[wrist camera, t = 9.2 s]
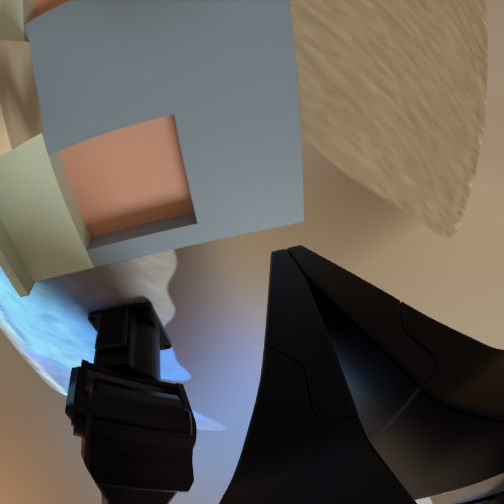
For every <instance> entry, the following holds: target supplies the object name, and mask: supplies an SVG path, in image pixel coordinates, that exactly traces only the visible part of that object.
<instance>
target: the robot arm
mask: <svg viewBox="0 0 504 504" xmlns="http://www.w3.org/2000/svg"><path fill="white" fill-rule="evenodd" d="M145 307H147V308H145ZM93 317H94V318H93ZM88 320H89V321H90V323H91V324H92V325H93V327H94V328H95V330H96V331H97V336H96V342H95V349H96V350H95V356H94V363H93V364H92V363H89V361H86V360H83V359H82V363H81V367H79V366H78V367H75V368H72V371H71V377H70V383H69V389H68V395H67V401H66V410H65V413H66V414H67V416H68V417H69V419H70V420H71V425H72V426H74V429H73V435H74V436H78V437H82V442H81V455H82V458H83V460H84V463H85V466H86V467H87V469H88V471H89V473H90V474H91V476H92V478H93V480H94V481H95V483H96V484H97V486H98V488H99V489H100V491H101V493H102V504H169V503H170V501H171V500H172V499H173V497H174V496H175V495H176V493H177V492H188V491H189V490H190V488H191V486H192V484H193V481H194V476H193V466H192V454H193V448H194V445H195V442H196V422H195V418H194V415H193V413H192V410H191V407H190V404H189V401H188V398H187V395H186V392H185V389H184V386H183V384H179V383H176V384H174V383H169V382H163V381H161V376H160V350H165V349H169V348H171V347H172V345H171V341H170V339H169V337H168V335H167V333H166V331H165V330H164V328H163V326H162V324H161V322H160V320H159V318H158V316H157V314H156V312H155V310H154V308H153V306H152V304H151V303H149V302H143V303H137V304H132V305H127V306H122V307H117V308H111V309H106V310H101V311H95V312H90V313H89V315H88ZM426 497H430V499H431V501H432V503H433V504H504V350H501V349H496V348H493V347H490V346H488V345H485V344H483V343H481V342H479V341H477V340H475V339H473V338H471V337H469V336H467V335H464V334H462V333H460V332H458V331H456V330H454V329H452V328H450V327H448V326H446V325H444V324H442V323H440V322H438V321H436V320H434V319H432V318H430V317H428V316H426V315H425V314H423V313H421V312H419V311H417V310H416V309H414V308H412V307H410V306H409V305H407V304H405V303H404V302H401V303H400V300H398V299H396V298H395V297H393V296H391V295H390V294H388V293H386V292H384V291H383V290H381V289H379V288H377V287H376V286H374V285H372V284H370V283H368V282H367V281H365V280H363V279H361V278H360V277H358V276H356V275H354V274H353V273H351V272H349V271H347V270H345V269H344V268H342V267H339V266H338V265H336V264H335V263H332V262H331V261H329V260H327V259H325V258H324V257H321V256H320V255H318V254H316V253H315V252H312V251H311V250H309V249H307V248H305V247H303V246H301V245H298V246H294V247H290V248H288V249H287V250H286V249H281V250H277V251H273V252H272V253H271V261H270V276H269V290H268V305H267V316H266V329H265V341H264V352H263V363H262V370H261V378H260V384H259V388H258V393H257V397H256V402H255V406H254V409H253V413H252V417H251V420H250V424H249V428H248V431H247V435H246V439H245V442H244V446H243V449H242V453H241V456H240V459H239V462H238V465H237V467H236V470H235V473H234V475H233V478H232V480H231V482H230V484H229V486H228V488H227V490H226V492H225V494H224V495H223V497H222V499H221V501H220V503H219V504H417V503H416V502H415V500H417V499H422V498H426Z"/></svg>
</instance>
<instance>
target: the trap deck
mask: <svg viewBox="0 0 504 504" xmlns="http://www.w3.org/2000/svg"><path fill="white" fill-rule="evenodd" d="M0 40H10V41H25V42H30V48H31V56H32V64H33V71H34V77H35V83H36V88H37V93H38V98H39V103H40V108H41V112H42V116H43V120H44V124H45V128H46V131H44V132H43V133H41V134H39V135H37V136H35V137H33V138H31V139H30V140H28V141H26V142H24V143H23V144H21V145H19V146H18V147H16V148H14V149H13V150H11V151H9V152H7V153H6V154H4V155H2V156H0V266H1V267H2V269H3V271H4V272H5V274H6V276H7V277H8V279H9V280H10V282H11V284H12V285H13V287H14V288H15V290H16V291H17V293H18V294H19V296H20V297H24V296H28V295H29V294H30V291H31V289H32V287H33V285H34V283H35V282H38V281H42V280H46V279H50V278H54V277H58V276H62V275H66V274H70V273H74V272H78V271H82V270H86V269H90V268H95V267H99V266H103V265H107V264H111V263H116V262H120V261H124V260H128V259H133V258H137V257H141V256H146V255H150V254H155V253H159V252H163V251H168V250H172V249H177V248H181V247H186V246H190V245H194V244H199V243H204V242H208V241H213V240H218V239H222V238H227V237H232V236H236V235H241V234H246V233H251V232H256V231H260V230H266V229H270V228H275V227H280V226H285V225H290V224H295V223H300V222H304V207H303V206H304V205H303V204H304V203H303V166H302V143H301V123H300V107H299V93H298V80H297V68H296V58H295V48H294V38H293V29H292V21H291V13H290V5H289V0H0Z"/></svg>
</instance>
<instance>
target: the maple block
mask: <svg viewBox="0 0 504 504" xmlns="http://www.w3.org/2000/svg"><path fill="white" fill-rule="evenodd" d="M44 131H46V128H45V124H44V120H43V116H42V112H41V108H40V103H39V98H38V93H37V88H36V83H35V77H34V71H33V64H32V56H31V48H30V42H25V41H10V40H0V156H2V155H4V154H6V153H7V152H9V151H11V150H13V149H14V148H16V147H18V146H19V145H21V144H23V143H24V142H26V141H28V140H30V139H31V138H33V137H35V136H37V135H39V134H41V133H43V132H44Z"/></svg>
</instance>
